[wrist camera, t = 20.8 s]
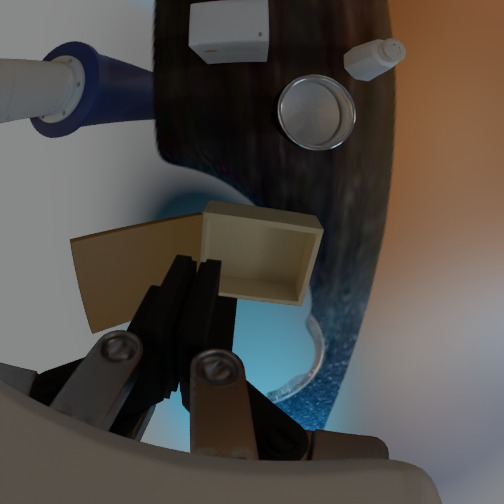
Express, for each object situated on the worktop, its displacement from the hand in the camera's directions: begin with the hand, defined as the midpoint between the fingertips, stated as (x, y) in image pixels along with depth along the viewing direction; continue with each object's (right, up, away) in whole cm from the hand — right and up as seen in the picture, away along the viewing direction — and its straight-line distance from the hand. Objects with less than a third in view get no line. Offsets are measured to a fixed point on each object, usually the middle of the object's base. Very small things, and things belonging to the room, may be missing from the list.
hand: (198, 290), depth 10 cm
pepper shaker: (+17, +27, +18) cm, 37 cm away
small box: (0, +29, +18) cm, 34 cm away
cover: (-11, -1, +20) cm, 23 cm away
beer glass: (+8, +20, +23) cm, 31 cm away
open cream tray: (+3, +2, +32) cm, 32 cm away
